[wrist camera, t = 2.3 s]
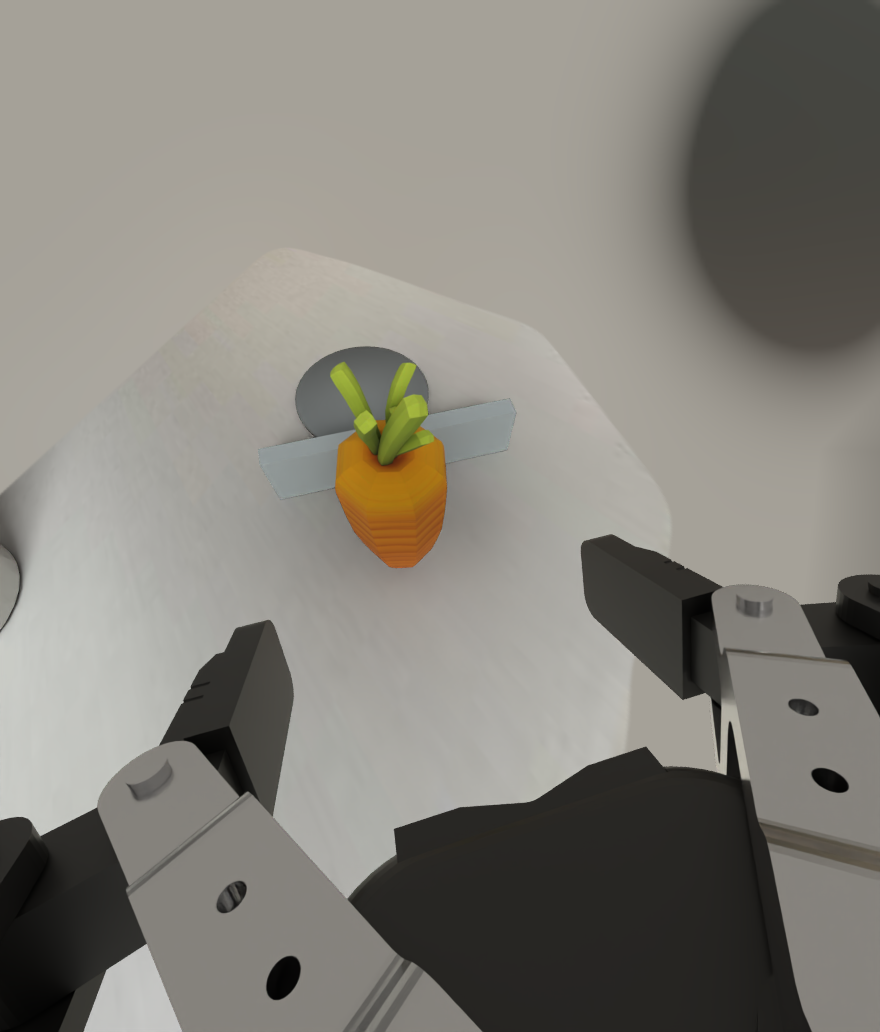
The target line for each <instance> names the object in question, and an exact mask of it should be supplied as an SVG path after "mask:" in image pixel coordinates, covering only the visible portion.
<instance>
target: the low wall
mask: <svg viewBox="0 0 880 1032" xmlns="http://www.w3.org/2000/svg"><path fill="white" fill-rule="evenodd" d="M515 416H516V410H515V408H514V406H513V404H512V401H511V399H510V398H509V399H504V400H499V401H494V402H489V403H484V404H479V405H474V406H469V407H464V408H459V409H454V410H449V411H444V412H440V413H435V414H430V415H428V416H427V417H426V419H425V420H424V421H423V423H422V424H421V425H420V426H421V427H422V428H424V429H425V430H429V431H430V432H431V433H432V434H433V436H435V437H436V438H437V439H439V440H440V441H441V442H442V443H443V445H444V451H445V464H446V463H450V462H455V461H459V460H464V459H468V458H473V457H478V456H482V455H487V454H491V453H496V452H500V451H505V450H507V448H508V444H509V440H510V436H511V432H512V428H513V424H514V420H515ZM354 432H356V430H350V431H346V432H341V433H336V434H331V435H326V436H321V437H316V438H311V439H306V440H301V441H296V442H291V443H286V444H281V445H276V446H271V447H266V448H261V449H258V454H259V464H260V467H261V468H262V470H263V472H264V473H265V475H266V477H267V478H268V480H269V481H270V483H271V485H272V486H273V488H274V490H275V491H276V493H277V495H278V496H279V498H280V500H281V499H286V498H290V497H295V496H299V495H304V494H309V493H313V492H318V491H322V490H327V489H331V488H335V480H336V467H337V454H338V445H339V444H340V443H341V442H343V441H344V440H345V439H347V438H348V437H349V436H350V435H352V434H353V433H354Z"/></svg>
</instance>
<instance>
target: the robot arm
mask: <svg viewBox="0 0 880 1032" xmlns="http://www.w3.org/2000/svg"><path fill="white" fill-rule="evenodd" d="M581 559H582V571H583V583H584V594H585V600H586V603H587V606H588V608H589V610H590V612H591V614H592V615H593V617H594V618H595V619H596V620H597V621H598V622H599V623H600V624H602V625H603V626H604V627H605V628H606V629H607V630H608V631H609V632H610V633H611V634H612V635H613V636H614V637H616V638H617V639H618V640H619V641H620V642H621V643H622V644H623V645H624V646H625V647H626V648H627V649H628V650H630V651H631V652H632V653H633V654H634V655H635V656H636V657H637V658H638V659H639V660H640V661H641V662H642V663H644V664H645V665H646V666H647V667H648V668H649V669H650V670H651V671H652V672H653V673H654V674H655V675H656V676H658V677H659V678H660V679H661V680H662V681H663V682H664V683H665V684H666V685H668V687H669V688H670V689H672V690H673V691H674V692H675V693H676V694H677V695H678V696H679V697H680V698H681V699H682V700H684V699H687V698H690V697H694V696H697V695H700V694H703V693H706V694H708V695H709V696H710V717H711V726H712V735H713V743H714V752H715V761H716V770H717V772H713V771H708V770H704V769H697V768H689V767H672V766H670V767H663V766H662V765H661V764H660V763H659V762H658V760H657V759H656V758H655V757H654V756H653V754H652V753H651V752H650V751H649V750H648V748H647V747H643V748H640V749H637V750H634V751H631V752H628V753H625V754H622V755H619V756H616V757H613V758H610V759H607V760H603V761H600V762H597V763H594V764H591V765H588V766H587V767H585V768H583V769H582V770H580V771H579V772H577V773H576V774H574V775H573V776H571V777H570V778H568V779H567V780H565V781H564V782H562V783H561V784H559V785H558V786H556V787H555V788H553V789H552V790H550V791H549V792H547V793H546V794H544V795H543V796H541V797H540V798H538V799H536V800H534V801H531V802H526V803H515V804H501V805H487V806H473V807H460V808H457V809H454V810H451V811H448V812H445V813H441V814H438V815H435V816H432V817H429V818H426V819H423V820H420V821H417V822H414V823H411V824H408V825H405V826H402V827H399V828H396V829H394V834H395V843H396V853H397V855H395V856H394V857H392V858H391V859H389V860H388V861H386V862H385V863H384V864H382V865H381V866H380V867H379V868H377V869H376V870H375V871H374V872H372V873H371V874H370V875H369V876H368V877H367V878H366V879H365V880H364V881H363V882H362V883H361V884H360V885H359V886H358V887H357V888H356V889H355V890H354V892H353V893H352V894H351V895H350V896H349V898H348V899H346V898H345V896H344V895H343V894H342V893H341V892H340V891H339V890H338V889H337V888H336V887H335V885H334V884H333V883H332V882H331V881H330V880H329V879H328V878H327V877H326V875H325V874H324V873H323V872H322V871H321V870H320V869H319V868H318V867H317V865H316V864H315V863H314V862H313V861H312V860H311V859H310V858H309V857H308V856H307V854H306V853H305V852H304V851H303V850H302V849H301V848H300V847H299V846H298V844H297V843H296V842H295V841H294V840H293V839H292V838H291V837H290V836H289V835H288V833H287V832H286V831H285V830H284V829H283V828H282V827H281V826H280V825H279V823H278V822H277V821H276V820H275V819H274V818H273V811H274V806H275V800H276V795H277V789H278V784H279V778H280V772H281V767H282V761H283V756H284V750H285V744H286V739H287V733H288V728H289V722H290V716H291V711H292V705H293V697H294V693H293V683H292V678H291V674H290V671H289V668H288V665H287V662H286V659H285V656H284V653H283V650H282V647H281V644H280V641H279V638H278V635H277V633H276V630H275V627H274V625H273V623H272V622H271V621H270V620H266V621H262V622H258V623H254V624H250V625H246V626H242V627H238V628H236V629H235V631H234V633H233V635H232V637H231V639H230V641H229V643H228V645H227V648H226V650H225V652H223V653H219V654H216V655H215V656H214V657H213V658H212V659H211V660H210V661H209V662H207V663H206V664H205V665H204V666H203V667H202V668H201V669H200V670H199V672H198V674H197V676H196V677H195V679H194V681H193V683H192V685H191V689H190V690H189V691H188V692H187V694H186V696H185V698H184V700H183V701H184V703H183V704H181V706H180V707H179V709H178V711H177V713H176V715H175V717H174V719H173V720H172V722H171V724H170V726H169V728H168V730H167V732H166V734H165V735H164V737H163V739H162V741H161V743H160V745H159V746H157V747H155V748H153V749H151V750H149V751H147V752H145V753H143V754H142V755H140V756H138V757H137V758H135V759H134V760H132V761H131V762H129V763H128V764H127V765H126V766H124V767H123V768H122V769H121V770H120V771H119V772H118V773H117V774H116V775H115V776H114V777H113V778H112V779H111V780H110V781H109V782H108V784H107V785H106V786H105V788H104V789H103V791H102V793H101V795H100V797H99V800H98V805H97V808H95V809H93V810H92V811H90V812H88V813H86V814H84V815H82V816H80V817H78V818H76V819H74V820H72V821H70V822H68V823H66V824H64V825H62V826H60V827H58V828H56V829H54V830H52V831H50V832H48V833H46V834H44V835H42V836H40V835H39V834H38V832H37V831H36V829H35V827H34V826H33V824H32V823H31V821H30V820H29V819H27V818H24V817H14V818H8V819H4V820H1V821H0V1032H83V1031H84V1029H85V1026H86V1023H87V1021H88V1018H89V1015H90V1012H91V1010H92V1007H93V1004H94V1002H95V999H96V996H97V994H98V991H99V988H100V986H101V983H102V980H103V978H104V975H105V972H106V970H107V969H108V968H110V967H111V966H113V965H114V964H116V963H118V962H119V961H121V960H122V959H124V958H125V957H127V956H128V955H130V954H131V953H133V952H134V951H136V950H138V949H139V948H141V947H142V946H144V945H145V944H147V945H148V948H149V950H150V953H151V955H152V957H153V960H154V962H155V965H156V967H157V970H158V972H159V975H160V977H161V980H162V982H163V985H164V987H165V990H166V992H167V995H168V997H169V1000H170V1002H171V1005H172V1007H173V1009H174V1012H175V1014H176V1017H177V1019H178V1022H179V1024H180V1027H181V1029H182V1032H880V575H856V576H851V577H847V578H845V579H843V580H841V581H840V582H839V584H838V590H837V599H836V602H835V603H834V602H833V603H819V604H805V605H800V604H799V603H798V601H797V600H796V599H794V598H793V597H792V596H790V595H788V594H786V593H784V592H781V591H779V590H776V589H773V588H768V587H764V586H758V585H731V586H726V587H722V586H720V585H718V584H716V583H714V582H712V581H711V580H709V579H707V578H705V577H703V576H701V575H699V574H697V573H695V572H693V571H692V570H689V569H688V568H686V569H685V568H684V566H682V565H680V564H678V563H676V562H675V561H674V562H672V561H671V559H669V558H667V557H665V556H663V555H661V554H659V553H657V552H655V551H651V550H647V549H643V548H639V547H635V546H633V545H631V544H629V543H628V542H626V541H624V540H622V539H620V538H618V537H617V536H615V535H612V534H610V535H606V536H602V537H598V538H594V539H590V540H586V541H584V542H583V543H582V545H581ZM19 578H20V575H19V570H18V566H17V562H16V561H15V559H14V558H13V556H12V554H11V553H10V552H9V551H8V550H7V549H5V548H4V547H3V546H2V545H0V629H1V628H2V627H3V625H4V624H5V622H6V621H7V619H8V617H9V615H10V613H11V611H12V609H13V607H14V605H15V601H16V598H17V594H18V591H19Z"/></svg>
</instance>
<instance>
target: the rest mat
mask: <svg viewBox="0 0 880 1032" xmlns="http://www.w3.org/2000/svg"><path fill="white" fill-rule="evenodd" d="M342 362H345V363H346V364H347V366H348V367H349V368H350V369H351V371H352V373H353V374H354V376H355V378H356V379H357V381H358V383H359V385H360V387H361V389H362V391H363V394H364V396H365V398H366V400H367V403H368V405H369V407H370V410H371V412H372V414H373V417H374V419H375V420H385V409H386V404H387V399H388V394H389V391H390V387H391V383H392V381H393V378H394V376H395V374H396V372H397V370H398V368H399V366H400V365H401V364H402V363H409V362H410V363H413V364H415V363H414V362H412V361H411V360H410V359H408V358H407V357H405V356H404V355H402V354H400V353H397V352H395V351H392V350H389V349H385V348H379V347H354V348H348V349H344V350H340V351H337V352H335V353H332V354H330V355H328V356H326V357H324V358H322V359H321V360H319V361H318V362H316V363H315V364H314V365H313V366H312V367H311V368H309V370H308V371H307V372H306V373H305V374H304V376H303V377H302V379H301V380H300V383H299V385H298V387H297V391H296V398H295V401H296V408H297V412H298V415H299V417H300V419H301V421H302V423H303V424H304V426H305V427H306V428H307V430H308V431H309V432H310V433H311V434H313V435H314V436H315V437H321V436H326V435H331V434H336V433H341V432H346V431H350V430H355V428H354V421H355V419H356V417H355V416H354V414H353V412H352V411H351V409H350V407H349V405H348V404H347V402H346V400H345V399H344V397H343V396H342V394H341V393H340V391H339V390H338V388H337V387H336V385H335V384H334V382H333V380H332V379H331V377H330V373H331V371H332V369H333V368H334V367H335V366H336V365H337V364H339V363H342ZM415 365H416V364H415ZM413 394H415V395H422V397H423V398H424V400H425V401H426V403H427V404H428V385H427V381H426V379H425V377H424V374H423V373H422V371H421V370H420V369H419V367H418V366H416V369H415V371H414V373H413V376H412V378H411V380H410V382H409V384H408V386H407V389H406V392H405V395H404V397H403V398H405V397H408V396H410V395H413Z"/></svg>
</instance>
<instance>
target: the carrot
mask: <svg viewBox="0 0 880 1032" xmlns="http://www.w3.org/2000/svg"><path fill="white" fill-rule="evenodd" d="M416 366H417V365H415V364H413V363H410V362H409V363H402V364H401V365H400V366H399V368H398V370H397V372H396V374H395V376H394V378H393V381H392V383H391V387H390V391H389V394H388V399H387V404H386V409H385V420H375V419H374V417H373V414H372V412H371V410H370V407H369V405H368V403H367V400H366V398H365V396H364V394H363V391H362V389H361V387H360V385H359V383H358V381H357V379H356V378H355V376H354V374H353V373H352V371H351V369H350V368H349V367H348V366H347V364H346V363H345V362H342V363H339V364H337V365H336V366H335V367H334V368H333V369H332V371H331V373H330V377H331V379H332V380H333V382H334V384H335V385H336V387H337V388H338V390H339V391H340V393H341V394H342V396H343V397H344V399H345V400H346V402H347V404H348V405H349V407H350V409H351V411H352V412H353V414H354V416H355V417H356V419H355V421H354V428H355V430H356V432H354V433H353V434H352V435H350V436H349V437H348V438H347V439H345V440H344V441H343V442H341V443H340V444H339V445H338V454H337V467H336V480H335V490H336V494H337V496H338V498H339V501H340V503H341V505H342V508H343V510H344V512H345V515H346V517H347V519H348V520H349V522H350V524H351V526H352V528H353V530H354V532H355V533H356V534H357V536H358V537H359V538H360V539H361V540H362V542H363V543H364V544H365V545H366V546H367V547H368V548H369V549H370V550H371V551H372V552H373V553H375V554H376V555H377V556H378V557H379V558H380V559H381V560H382V561H383V562H385V563H386V564H387V565H388V566H389V567H392V568H408V567H413V566H415V565H416V564H417V563H418V562H419V561H420V560H421V559H422V558H423V557H424V556H425V555H426V554H427V553H428V552H429V551H430V550H431V549H432V547H433V545H434V544H435V542H436V540H437V538H438V536H439V534H440V531H441V529H442V524H443V518H444V512H445V504H446V494H447V481H446V465H445V451H444V445H443V443H442V442H441V441H440V440H439V439H437V438H436V437H435V436H433V434H432V433H431V432H430V431H429V430H425V429H424V428H422V427H421V426H420V425H421V424H422V423H423V421H424V420H425V419H426V417H427V416H428V409H427V403H426V401H425V400H424V398H423V397H422V395H415V394H413V395H410V396H408V397H405V398H403V397H404V395H405V392H406V389H407V386H408V384H409V382H410V380H411V378H412V376H413V373H414V371H415V369H416Z"/></svg>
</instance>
